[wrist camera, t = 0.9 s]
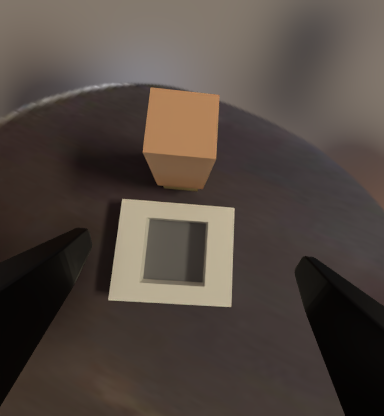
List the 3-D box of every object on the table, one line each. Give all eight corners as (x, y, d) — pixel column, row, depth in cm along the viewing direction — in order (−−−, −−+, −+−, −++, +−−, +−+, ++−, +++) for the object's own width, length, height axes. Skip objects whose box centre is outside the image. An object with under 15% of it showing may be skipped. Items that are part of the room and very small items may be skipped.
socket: (226, 300, 20) (231, 307, 18) (115, 293, 19) (108, 300, 18) (229, 210, 22) (234, 207, 20) (127, 202, 21) (122, 198, 19)
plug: (200, 194, 22) (216, 159, 12) (160, 191, 22) (142, 152, 12) (203, 157, 23) (219, 95, 13) (164, 153, 22) (150, 87, 13)
